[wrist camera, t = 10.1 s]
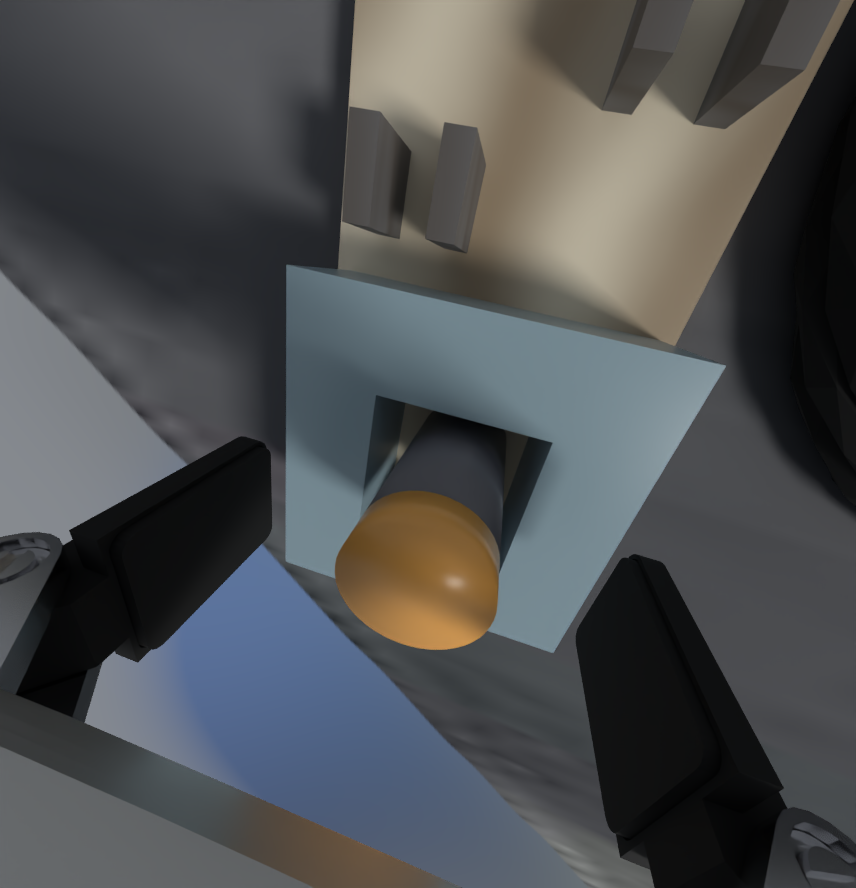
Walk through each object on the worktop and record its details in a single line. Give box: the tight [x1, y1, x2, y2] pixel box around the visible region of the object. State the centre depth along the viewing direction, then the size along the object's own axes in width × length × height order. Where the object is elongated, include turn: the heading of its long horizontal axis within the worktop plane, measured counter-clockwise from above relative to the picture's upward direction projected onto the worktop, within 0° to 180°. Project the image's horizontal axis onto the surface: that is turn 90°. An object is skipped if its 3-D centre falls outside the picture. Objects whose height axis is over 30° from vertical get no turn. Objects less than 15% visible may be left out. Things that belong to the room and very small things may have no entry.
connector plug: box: [335, 411, 506, 650], centre depth 11 cm, size 4×4×8 cm
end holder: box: [286, 265, 726, 653], centre depth 13 cm, size 11×11×4 cm
